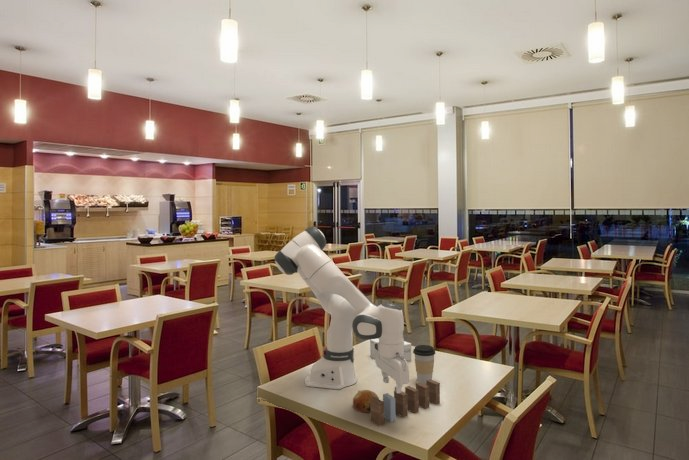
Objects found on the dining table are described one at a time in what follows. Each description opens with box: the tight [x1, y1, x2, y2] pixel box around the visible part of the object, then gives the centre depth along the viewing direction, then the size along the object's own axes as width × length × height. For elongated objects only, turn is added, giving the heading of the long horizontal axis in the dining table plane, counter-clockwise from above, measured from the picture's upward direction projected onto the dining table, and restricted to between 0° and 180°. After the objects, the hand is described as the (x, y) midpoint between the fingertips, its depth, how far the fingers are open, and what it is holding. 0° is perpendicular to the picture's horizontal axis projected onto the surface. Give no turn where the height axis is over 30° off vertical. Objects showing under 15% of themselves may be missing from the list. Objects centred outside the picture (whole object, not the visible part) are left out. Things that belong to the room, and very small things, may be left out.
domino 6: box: [426, 379, 441, 406], centre depth 172 cm, size 2×5×8 cm, turn 35°
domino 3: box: [393, 390, 409, 418], centre depth 162 cm, size 2×5×8 cm, turn 35°
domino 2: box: [382, 392, 397, 423], centre depth 159 cm, size 2×5×8 cm, turn 27°
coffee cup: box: [412, 344, 436, 385], centre depth 191 cm, size 9×9×15 cm
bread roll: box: [352, 389, 380, 413], centre depth 169 cm, size 10×10×8 cm
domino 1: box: [370, 397, 385, 427], centre depth 156 cm, size 2×5×8 cm, turn 35°
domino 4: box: [404, 385, 420, 414], centre depth 165 cm, size 2×5×8 cm, turn 35°
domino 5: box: [415, 382, 430, 410], centre depth 168 cm, size 2×5×8 cm, turn 35°
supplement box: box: [369, 338, 412, 363], centre depth 221 cm, size 17×13×9 cm
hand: (392, 387), depth 159 cm, fingers open, 8 cm apart
